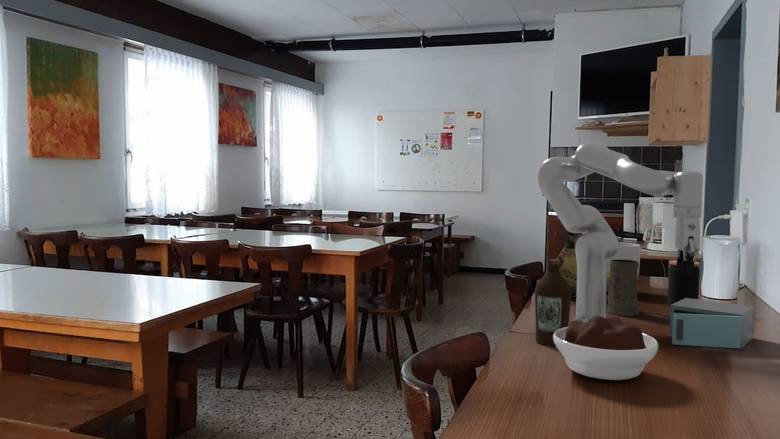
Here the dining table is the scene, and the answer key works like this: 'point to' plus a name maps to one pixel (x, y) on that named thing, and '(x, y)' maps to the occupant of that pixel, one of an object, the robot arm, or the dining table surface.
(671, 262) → the coffee jar
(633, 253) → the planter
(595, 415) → the dining table surface
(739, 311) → the grey cabinet
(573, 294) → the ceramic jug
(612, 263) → the beer stein
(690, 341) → the side door
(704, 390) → the dining table surface
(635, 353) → the white dessert bowl
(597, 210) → the robot arm
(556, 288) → the olive oil
